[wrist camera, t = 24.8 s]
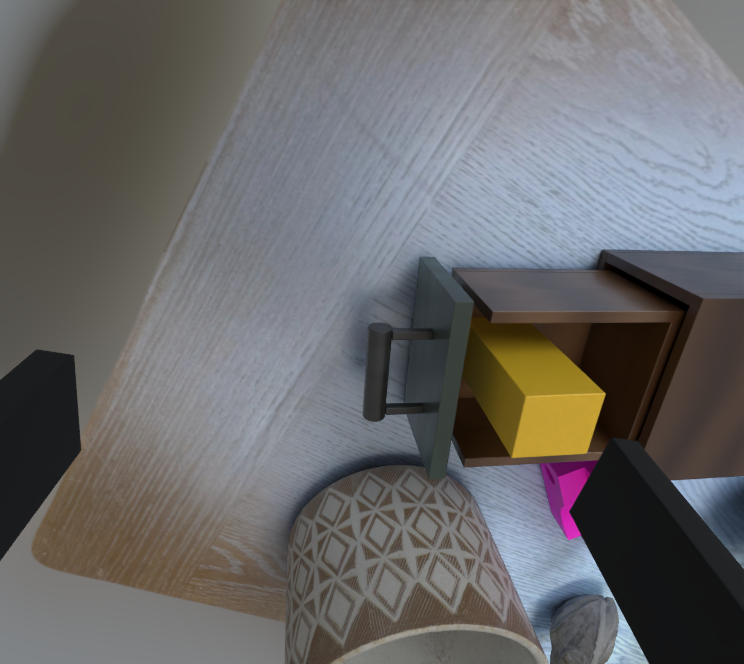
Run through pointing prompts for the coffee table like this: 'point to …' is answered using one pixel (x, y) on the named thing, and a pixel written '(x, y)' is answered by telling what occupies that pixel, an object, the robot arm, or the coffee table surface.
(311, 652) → the planter
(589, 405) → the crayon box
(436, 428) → the drawer
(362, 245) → the coffee table surface
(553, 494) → the toy block
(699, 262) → the cabinet
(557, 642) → the fossil
